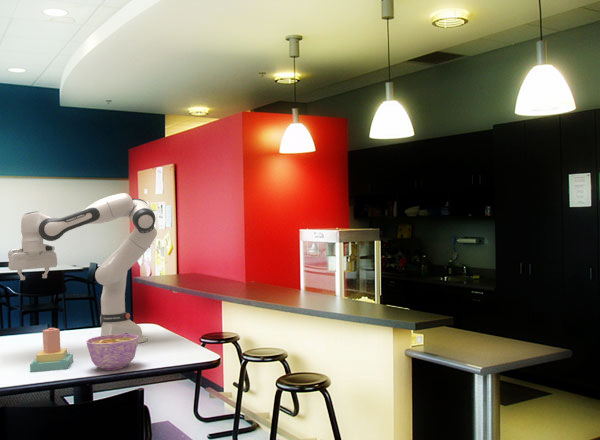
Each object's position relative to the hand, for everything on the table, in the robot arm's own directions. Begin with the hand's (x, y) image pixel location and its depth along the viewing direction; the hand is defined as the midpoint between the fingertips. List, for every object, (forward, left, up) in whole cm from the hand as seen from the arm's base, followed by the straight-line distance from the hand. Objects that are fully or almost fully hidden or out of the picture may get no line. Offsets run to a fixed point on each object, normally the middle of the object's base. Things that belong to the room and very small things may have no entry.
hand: (33, 279), depth 267 cm
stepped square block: (-11, +26, -34) cm, 44 cm away
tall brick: (-11, +26, -28) cm, 40 cm away
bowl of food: (-36, +38, -34) cm, 63 cm away
